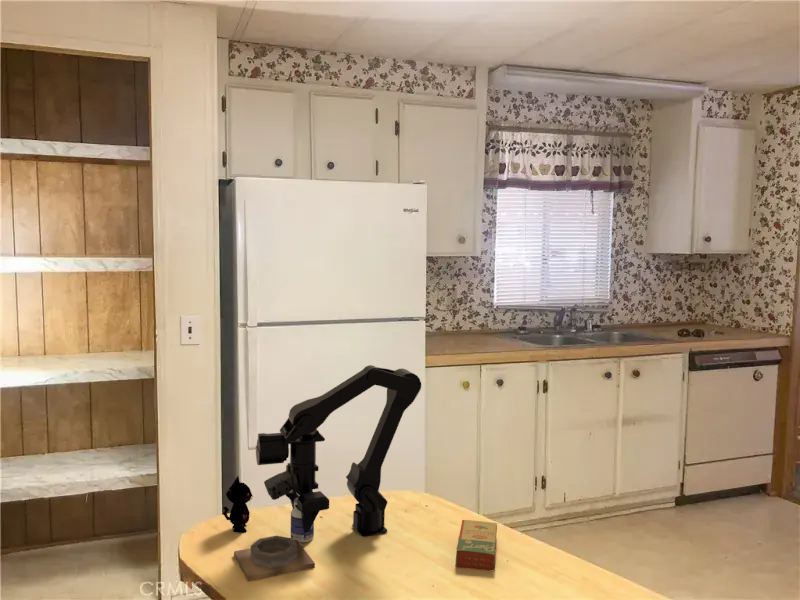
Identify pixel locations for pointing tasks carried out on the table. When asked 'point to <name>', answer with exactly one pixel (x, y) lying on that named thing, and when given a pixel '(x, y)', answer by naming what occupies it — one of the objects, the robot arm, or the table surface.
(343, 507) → the table surface
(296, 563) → the collar board
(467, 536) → the carton
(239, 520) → the cat figurine
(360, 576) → the table surface
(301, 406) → the robot arm
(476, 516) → the table surface
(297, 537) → the pill bottle
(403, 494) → the table surface
